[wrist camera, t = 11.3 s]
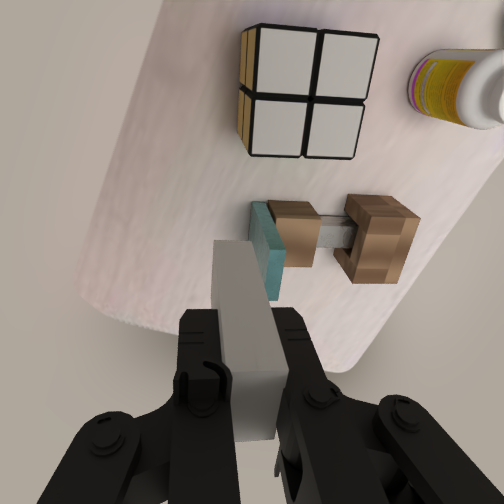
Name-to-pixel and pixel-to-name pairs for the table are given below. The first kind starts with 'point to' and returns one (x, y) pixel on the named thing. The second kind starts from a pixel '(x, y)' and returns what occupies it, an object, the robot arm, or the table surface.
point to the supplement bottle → (461, 87)
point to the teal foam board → (273, 250)
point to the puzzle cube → (303, 90)
